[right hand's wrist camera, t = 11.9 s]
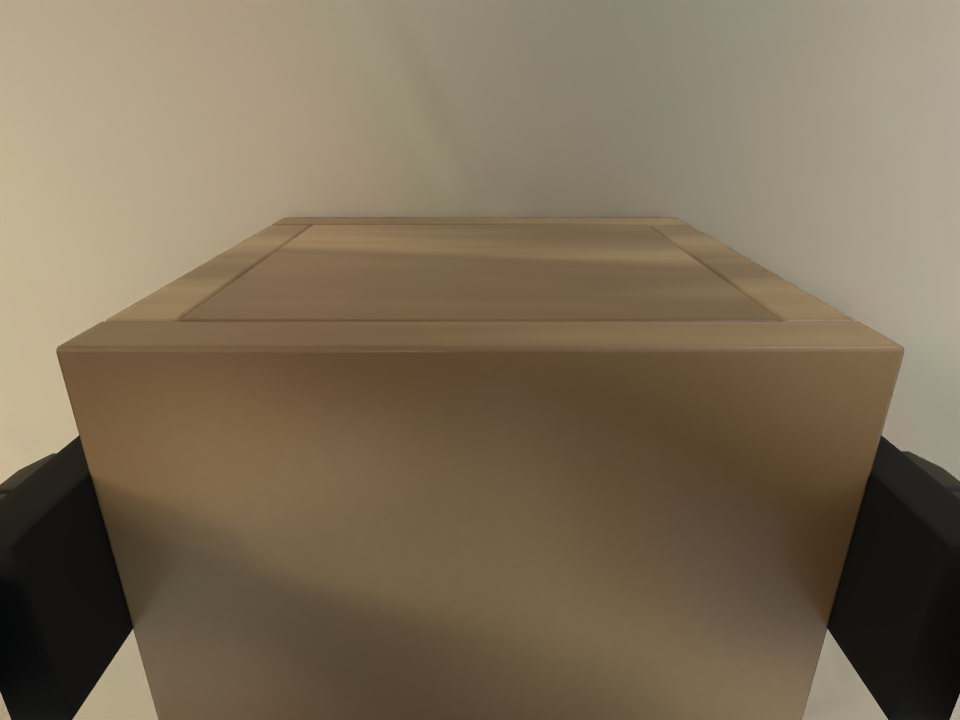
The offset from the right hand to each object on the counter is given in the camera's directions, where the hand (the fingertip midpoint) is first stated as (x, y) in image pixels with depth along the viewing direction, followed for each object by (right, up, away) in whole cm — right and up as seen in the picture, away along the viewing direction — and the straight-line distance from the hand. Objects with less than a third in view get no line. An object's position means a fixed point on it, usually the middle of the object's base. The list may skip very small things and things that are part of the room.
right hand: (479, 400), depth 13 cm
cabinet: (0, -3, +6) cm, 7 cm away
